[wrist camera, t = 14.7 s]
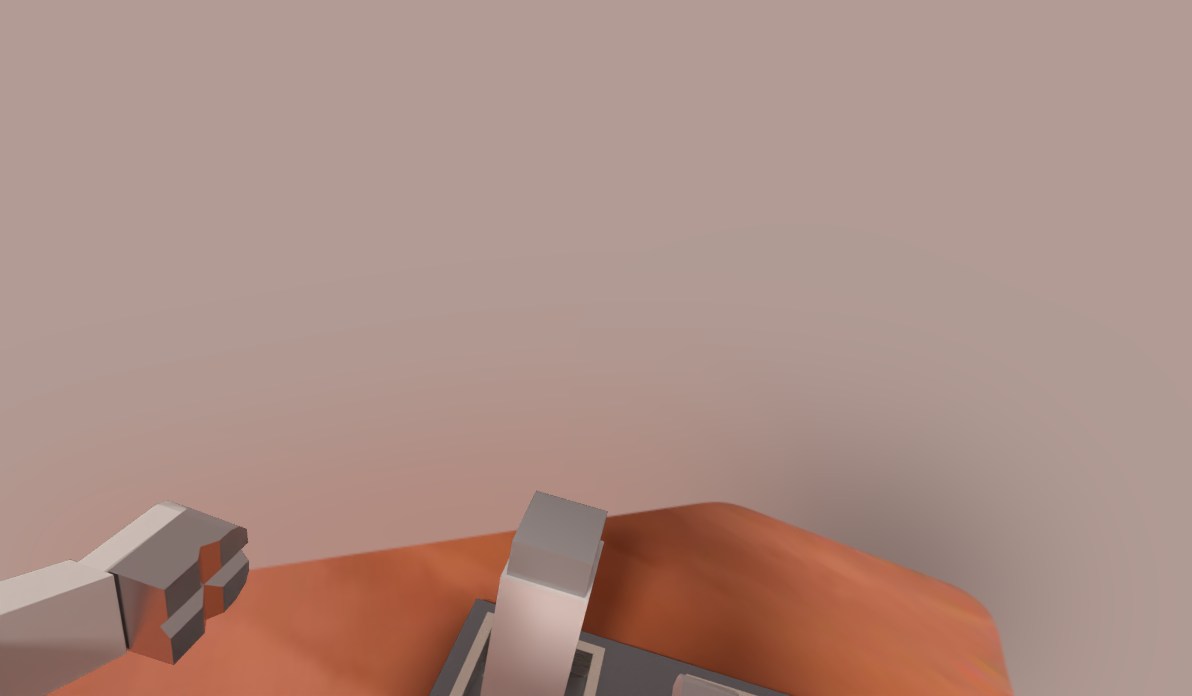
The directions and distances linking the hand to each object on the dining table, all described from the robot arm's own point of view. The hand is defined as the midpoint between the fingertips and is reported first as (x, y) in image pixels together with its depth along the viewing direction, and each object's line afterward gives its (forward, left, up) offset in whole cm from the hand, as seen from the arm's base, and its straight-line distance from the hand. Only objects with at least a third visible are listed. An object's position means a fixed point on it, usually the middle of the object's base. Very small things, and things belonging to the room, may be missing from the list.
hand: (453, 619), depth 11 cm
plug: (0, +14, -23) cm, 27 cm away
